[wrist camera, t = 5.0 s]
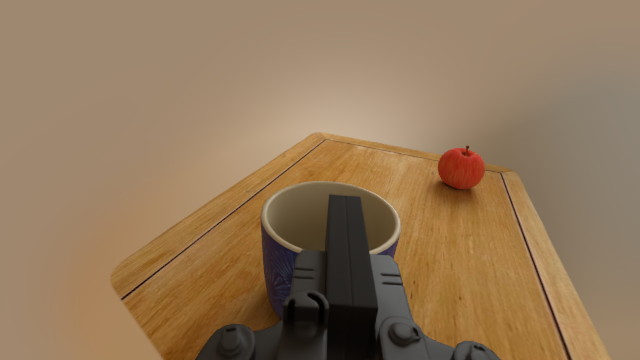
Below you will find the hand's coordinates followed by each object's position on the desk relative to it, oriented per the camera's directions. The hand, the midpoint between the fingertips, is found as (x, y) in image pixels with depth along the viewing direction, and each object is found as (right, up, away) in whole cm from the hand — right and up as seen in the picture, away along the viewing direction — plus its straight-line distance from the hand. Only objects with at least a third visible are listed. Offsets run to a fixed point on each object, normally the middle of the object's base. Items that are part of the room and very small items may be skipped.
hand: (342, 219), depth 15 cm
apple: (+25, +1, +44) cm, 51 cm away
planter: (-1, -11, +17) cm, 20 cm away
